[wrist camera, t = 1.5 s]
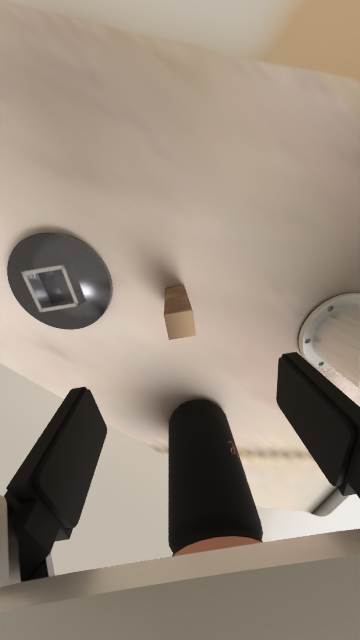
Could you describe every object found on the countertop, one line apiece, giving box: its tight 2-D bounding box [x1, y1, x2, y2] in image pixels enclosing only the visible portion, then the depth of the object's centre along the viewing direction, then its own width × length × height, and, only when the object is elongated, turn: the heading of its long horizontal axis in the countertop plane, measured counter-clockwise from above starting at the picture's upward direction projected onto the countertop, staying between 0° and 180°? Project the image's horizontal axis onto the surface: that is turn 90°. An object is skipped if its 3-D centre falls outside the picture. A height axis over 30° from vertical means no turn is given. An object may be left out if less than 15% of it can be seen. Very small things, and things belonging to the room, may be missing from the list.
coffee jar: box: [169, 400, 263, 557], centre depth 27 cm, size 11×11×18 cm
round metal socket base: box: [7, 233, 113, 329], centre depth 23 cm, size 12×12×3 cm
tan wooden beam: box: [164, 285, 196, 340], centre depth 21 cm, size 2×2×10 cm
